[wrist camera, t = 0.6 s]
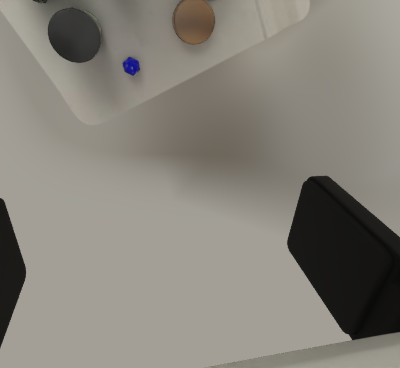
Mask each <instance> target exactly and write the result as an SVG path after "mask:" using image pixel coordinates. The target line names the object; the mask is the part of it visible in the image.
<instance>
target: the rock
mask: <svg viewBox="0 0 400 368" xmlns="http://www.w3.org/2000/svg"><path fill="white" fill-rule="evenodd" d="M33 1H35V2H38V3H46V1H47V0H33Z"/></svg>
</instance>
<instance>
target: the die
mask: <svg viewBox="0 0 400 368" xmlns="http://www.w3.org/2000/svg"><path fill="white" fill-rule="evenodd" d="M123 66H124V70H125V72H126V73H129V74H131V75H133V76H134V75H135V74H136V73H137V72H138V71H139V70H140V68H139V63H138V61H137V60H135V59H133V58H131V57H129V58H128V59H127V60H126V61H125V62H124V63H123Z"/></svg>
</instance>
